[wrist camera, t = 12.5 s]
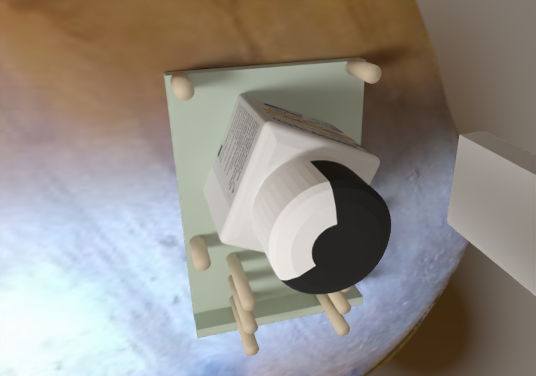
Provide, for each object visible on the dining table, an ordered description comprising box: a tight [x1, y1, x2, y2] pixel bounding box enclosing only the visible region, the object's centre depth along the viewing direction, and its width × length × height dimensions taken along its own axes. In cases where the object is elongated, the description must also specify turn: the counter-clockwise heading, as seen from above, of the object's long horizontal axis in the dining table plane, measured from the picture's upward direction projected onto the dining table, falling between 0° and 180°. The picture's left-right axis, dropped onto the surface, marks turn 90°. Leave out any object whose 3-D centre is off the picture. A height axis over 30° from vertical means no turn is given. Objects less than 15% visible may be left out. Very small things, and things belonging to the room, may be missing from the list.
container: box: [204, 93, 391, 294], centre depth 28 cm, size 8×8×13 cm
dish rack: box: [164, 57, 381, 356], centre depth 33 cm, size 20×14×7 cm
